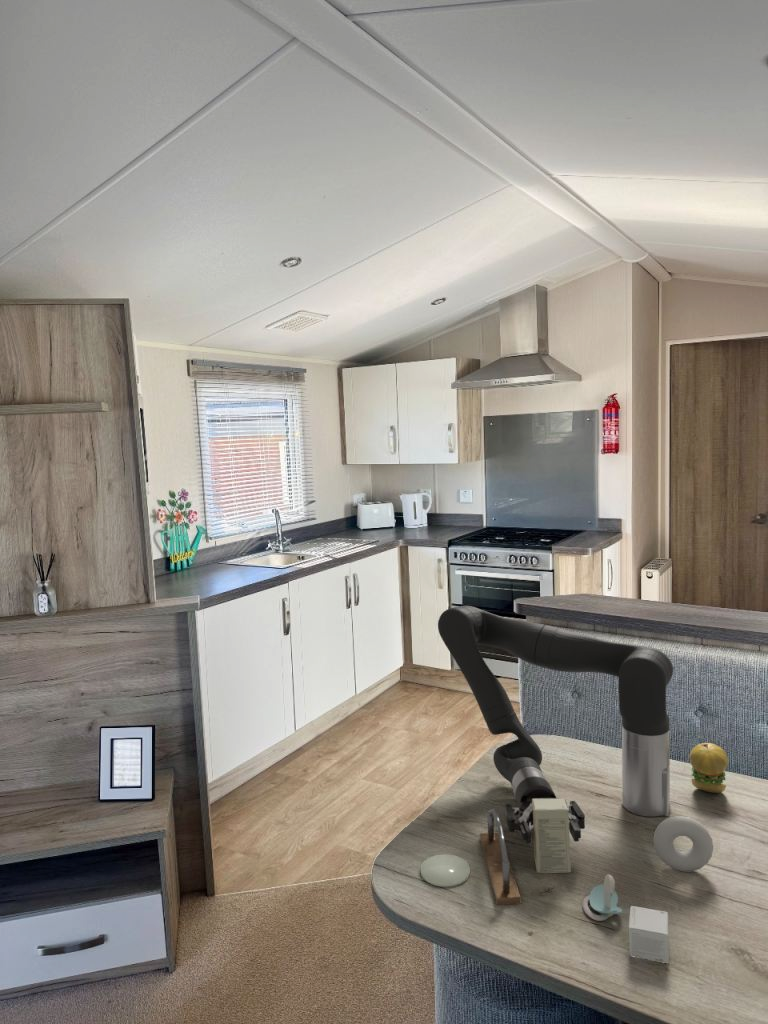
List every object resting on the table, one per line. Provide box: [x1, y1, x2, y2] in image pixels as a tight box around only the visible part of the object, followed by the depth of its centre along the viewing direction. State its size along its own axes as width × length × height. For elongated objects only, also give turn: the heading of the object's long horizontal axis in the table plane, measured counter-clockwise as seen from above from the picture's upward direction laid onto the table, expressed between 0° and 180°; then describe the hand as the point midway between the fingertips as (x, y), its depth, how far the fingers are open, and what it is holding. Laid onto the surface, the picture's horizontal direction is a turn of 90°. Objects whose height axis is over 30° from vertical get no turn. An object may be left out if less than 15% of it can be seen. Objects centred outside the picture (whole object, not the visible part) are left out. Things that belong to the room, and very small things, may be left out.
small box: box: [628, 905, 670, 965], centre depth 113 cm, size 6×6×5 cm
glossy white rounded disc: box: [420, 854, 471, 888], centre depth 135 cm, size 9×9×1 cm
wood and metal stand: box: [478, 808, 522, 906], centre depth 135 cm, size 20×4×10 cm, turn 1°
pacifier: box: [582, 873, 623, 922], centre depth 122 cm, size 7×6×6 cm
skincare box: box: [532, 797, 572, 874], centre depth 135 cm, size 6×4×12 cm
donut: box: [653, 815, 714, 873], centre depth 132 cm, size 10×3×10 cm, turn 74°
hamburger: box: [689, 742, 729, 794], centre depth 158 cm, size 8×7×12 cm
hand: (553, 837), depth 133 cm, fingers open, 8 cm apart
